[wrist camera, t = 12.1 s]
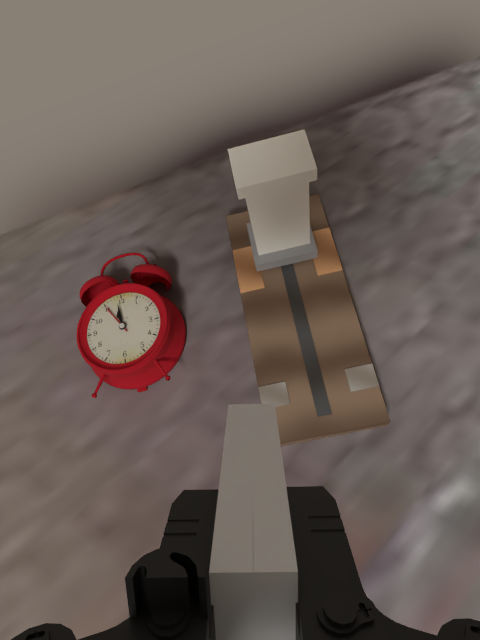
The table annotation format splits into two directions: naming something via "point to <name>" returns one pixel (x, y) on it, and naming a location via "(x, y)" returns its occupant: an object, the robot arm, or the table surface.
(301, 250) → the fader tab
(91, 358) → the alarm clock
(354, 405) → the board
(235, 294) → the table surface
